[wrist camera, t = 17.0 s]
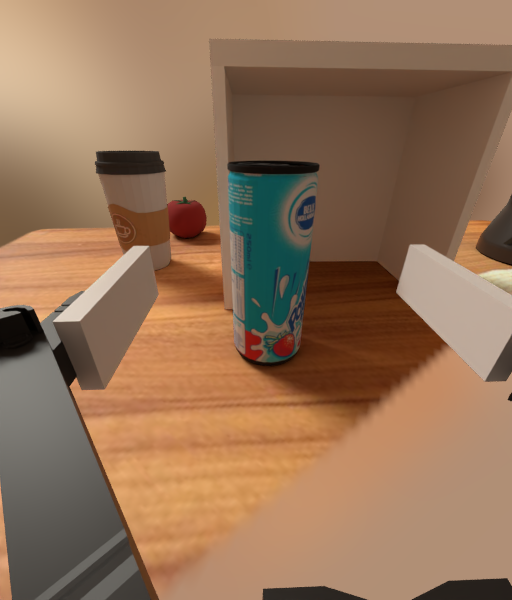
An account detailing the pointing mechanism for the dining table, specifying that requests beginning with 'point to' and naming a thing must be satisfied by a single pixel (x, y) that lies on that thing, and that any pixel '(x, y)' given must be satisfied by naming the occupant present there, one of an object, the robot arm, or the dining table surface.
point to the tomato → (186, 218)
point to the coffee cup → (137, 200)
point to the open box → (365, 136)
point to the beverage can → (270, 254)
